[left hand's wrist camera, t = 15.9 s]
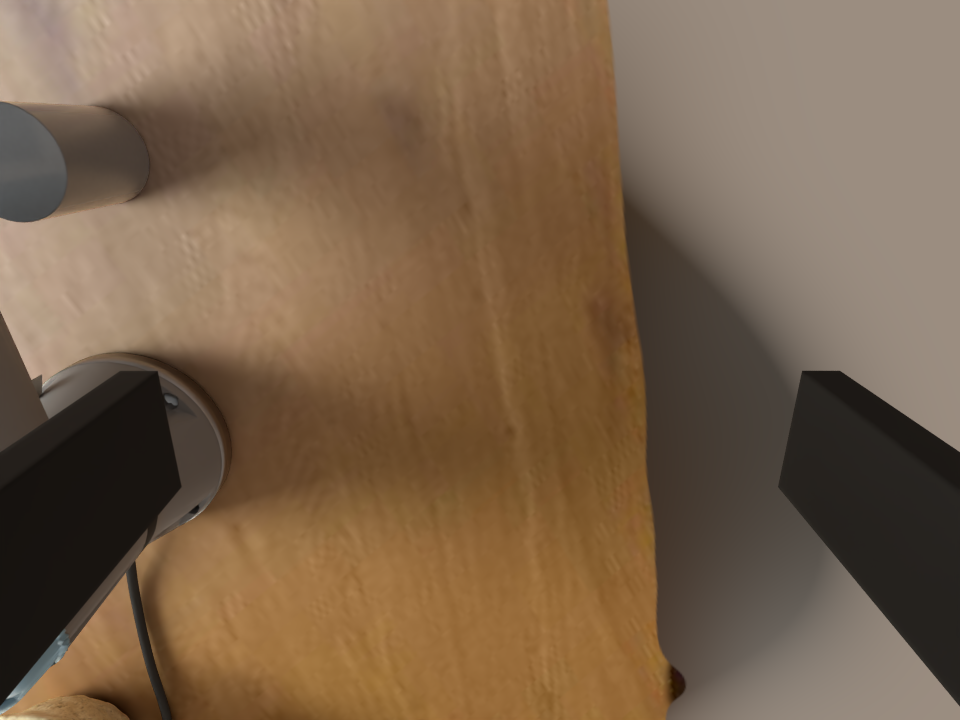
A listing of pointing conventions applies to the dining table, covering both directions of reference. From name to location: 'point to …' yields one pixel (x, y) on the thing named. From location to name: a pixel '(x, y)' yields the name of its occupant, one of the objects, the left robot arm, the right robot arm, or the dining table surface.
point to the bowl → (70, 710)
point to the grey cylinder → (66, 160)
